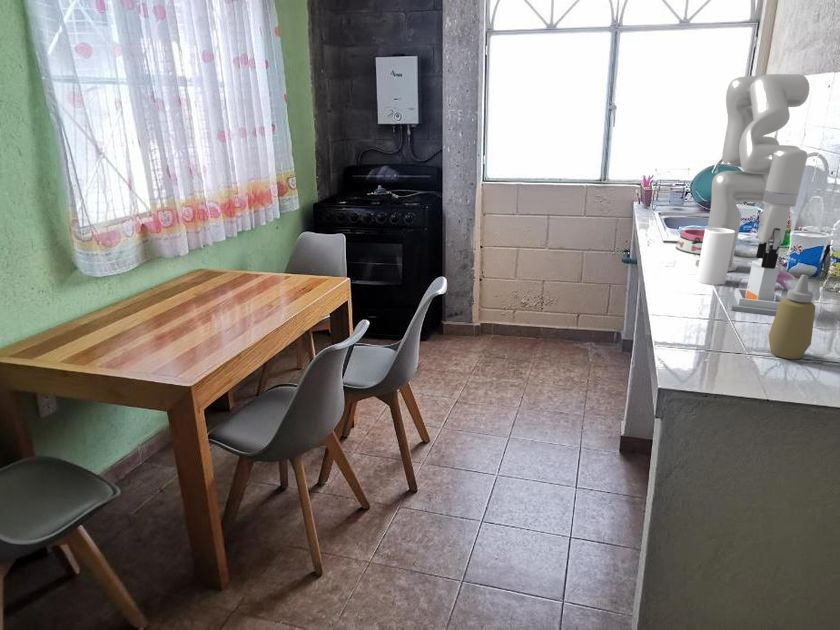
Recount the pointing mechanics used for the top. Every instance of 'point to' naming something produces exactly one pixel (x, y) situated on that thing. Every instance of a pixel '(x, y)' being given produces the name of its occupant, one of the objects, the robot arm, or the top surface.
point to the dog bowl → (691, 241)
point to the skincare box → (761, 282)
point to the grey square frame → (752, 303)
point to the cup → (715, 255)
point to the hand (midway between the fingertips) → (765, 263)
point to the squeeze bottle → (793, 322)
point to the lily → (783, 276)
